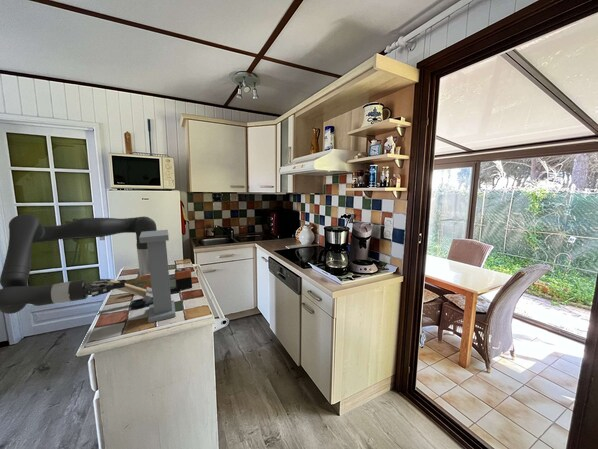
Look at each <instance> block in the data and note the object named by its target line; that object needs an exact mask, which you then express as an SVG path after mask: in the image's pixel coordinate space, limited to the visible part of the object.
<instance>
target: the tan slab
mask: <svg viewBox="0 0 598 449" xmlns="http://www.w3.org/2000/svg"><path fill="white" fill-rule="evenodd" d="M110 279H111V280H110V282H109V284H111V283H112V284H113V283H119V281H117V280H116V279H113V278H110ZM116 290H118V291H121V292H124V293H128V294H132V295H134V296H139V297H142V301H143V302H146V303H150V301H151V300H152V299H153V296H152V288H150V287H147V288H146V289H142V288H139V287H136V286H132V284H129V283H125V287H124V288H118V289H116Z"/></svg>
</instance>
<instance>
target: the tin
mask: <svg viewBox="0 0 598 449" xmlns="http://www.w3.org/2000/svg"><path fill="white" fill-rule="evenodd" d="M131 285H132V286H136V287H139V288H142V289H146V288H147V287H150V288H152V286H151V277H150V274H146V275H141V276H140V275H138V276H137V277H135V278H134V279H133V280H132V282H131Z"/></svg>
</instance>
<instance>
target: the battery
mask: <svg viewBox="0 0 598 449" xmlns="http://www.w3.org/2000/svg"><path fill="white" fill-rule="evenodd" d="M174 278H175V288H176V291H182V290H187V289H191V288H193V280H192V270H191V268H190V267H188V266H187V267H184V268H180V267H179V268H176V270H174Z"/></svg>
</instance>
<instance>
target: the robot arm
mask: <svg viewBox="0 0 598 449" xmlns="http://www.w3.org/2000/svg"><path fill="white" fill-rule="evenodd" d="M8 229H9V230H8V231H9V233H8V234H9V236H8V246H7V251H6V255H5V258H4V263H3V266H2V270H1V273H0V274H1V275H0V285H1V287H2V288H0V312H1V313H4V314H6V315H7V314H8V315H9V314H10V315H11V314H16V313H18V312H21V311H22V310H23V309H24V308H25V307H26V306H27V304H28V305H32V306H36V307H40V306H47V305H53V304H62V303H69V302H70V303H71V302H76V301H81V300H82V301H83V300H86V299H87V298H88V297H89V295H91V297H92V298H95V297H98V296H101V295H104V294H108V293H111V291H114V290H117V289H118V288H124V287H125V283H126V282H127V281H126V279H119V280H118V279H117V280H116V281H119V283H113V284H112V283H111V284H109V282H110V280H111V279H112V278H99V279H97V280H96V281H93V282H90V283H88V281H87V280H86V279H79V280H72V281H71V280H70V281H65V282H59V283H54V284H53V283H52V284H48V285H46V284H45V285H41V286H31V285H29V284H28V283H29V278H30V274H31V269H32V268H31V267H32V246H33V244H34V243H43V242H49V241H58V240H71V239H86V238H87V239H88V238H101V237H103V238H104V237H109V236H113V235H119V234H123V233H125V234H126V233H127V234H128V233H129V234H130V233H133V234H134V233H135V235H136V236H135V239H136V243H135V244H136V253H137V259H138V260H137V262H138V270H139V276H141V275H146V274H150V267H149V257H148V248H147V243H140V241H139V237H140V234H141V232H145V231H158V230H157V225H156V222H155V220H153V219H152V218H150V217H148V216H137V217H129V218H127V217H125V218H115V217H83V218H78V219H74V220H72V221H69V222H66V223H64V224H60V225H59V224H57V225H42V222H41V220H40V219H39V218H38V217H37V216H35V215H32V214H28V213H27V214H26V213H25V214H19V215H16V216H14V217H13V218H12V219H10V221H9V223H8ZM126 284H127V283H126Z"/></svg>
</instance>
